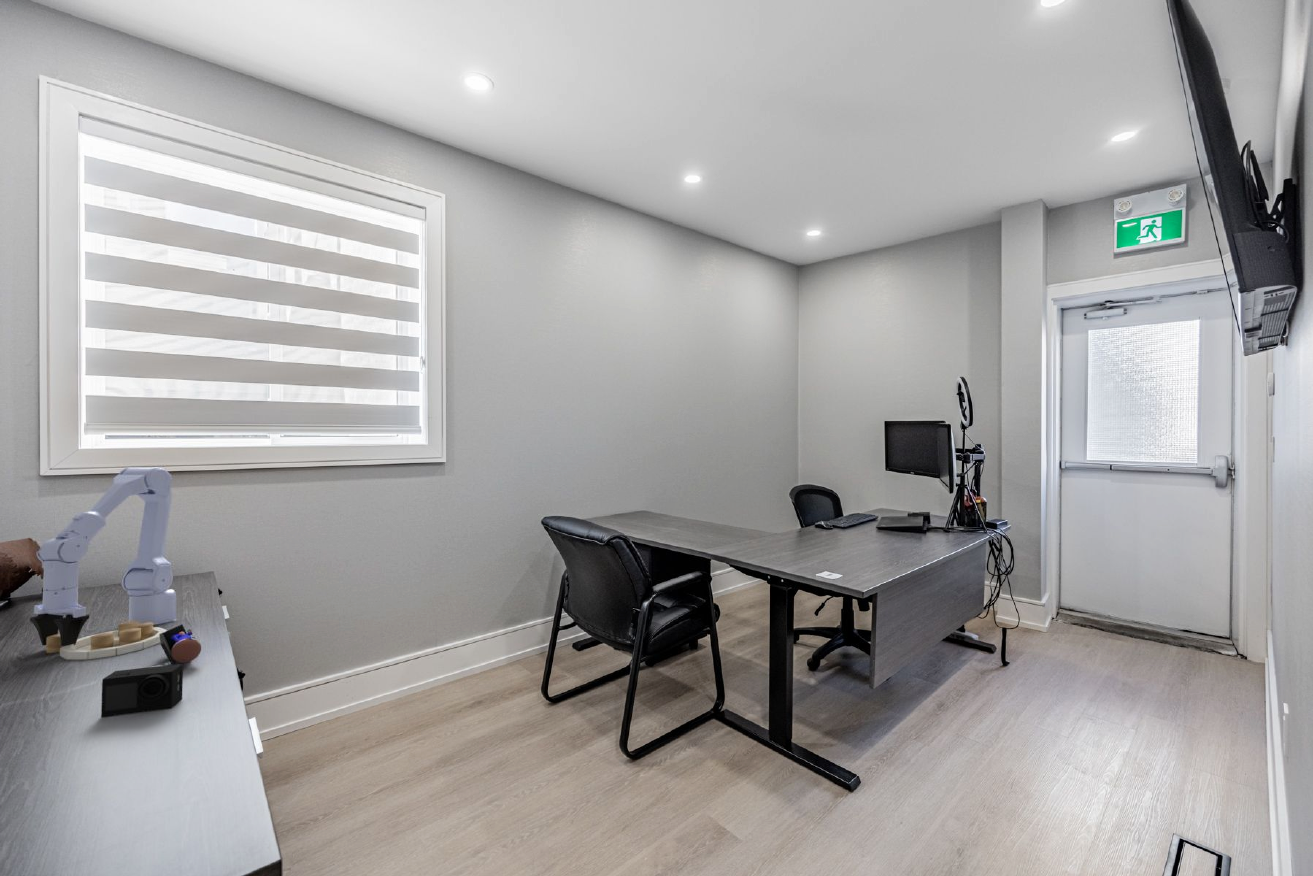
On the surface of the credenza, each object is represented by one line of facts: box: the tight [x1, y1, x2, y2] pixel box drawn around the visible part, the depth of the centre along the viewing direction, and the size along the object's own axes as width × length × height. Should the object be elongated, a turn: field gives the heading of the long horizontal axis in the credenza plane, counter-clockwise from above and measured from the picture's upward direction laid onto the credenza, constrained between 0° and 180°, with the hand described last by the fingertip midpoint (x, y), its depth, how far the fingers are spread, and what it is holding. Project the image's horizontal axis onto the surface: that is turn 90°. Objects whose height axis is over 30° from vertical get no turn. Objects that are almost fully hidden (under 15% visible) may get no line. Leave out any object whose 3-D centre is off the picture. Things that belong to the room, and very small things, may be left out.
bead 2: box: [117, 620, 139, 637], centre depth 138 cm, size 4×4×4 cm
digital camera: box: [100, 663, 184, 718], centre depth 101 cm, size 10×5×7 cm, turn 110°
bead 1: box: [45, 633, 62, 654], centre depth 130 cm, size 4×4×4 cm
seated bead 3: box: [132, 622, 154, 641], centre depth 137 cm, size 4×4×4 cm
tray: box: [59, 626, 168, 660], centre depth 133 cm, size 18×18×2 cm
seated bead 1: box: [90, 632, 114, 650], centre depth 129 cm, size 4×4×4 cm
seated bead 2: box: [119, 628, 141, 646], centre depth 132 cm, size 4×4×4 cm
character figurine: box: [159, 624, 202, 665], centre depth 124 cm, size 8×7×15 cm
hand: (58, 645), depth 130 cm, fingers open, 6 cm apart
